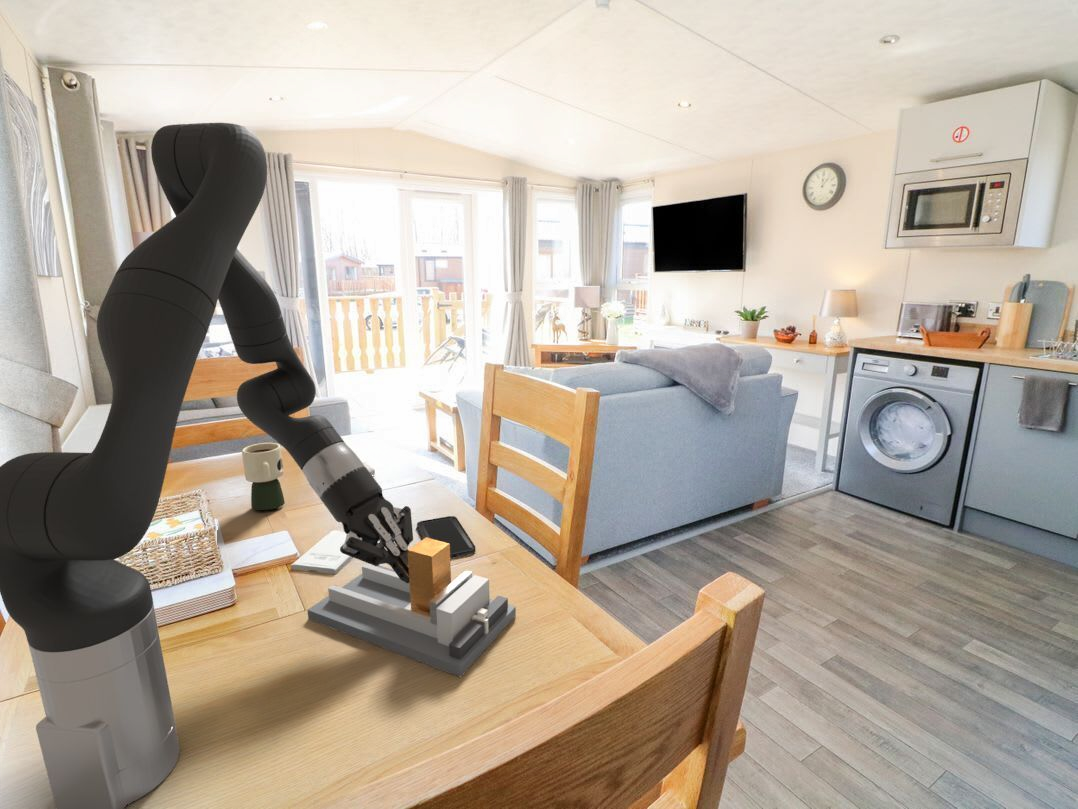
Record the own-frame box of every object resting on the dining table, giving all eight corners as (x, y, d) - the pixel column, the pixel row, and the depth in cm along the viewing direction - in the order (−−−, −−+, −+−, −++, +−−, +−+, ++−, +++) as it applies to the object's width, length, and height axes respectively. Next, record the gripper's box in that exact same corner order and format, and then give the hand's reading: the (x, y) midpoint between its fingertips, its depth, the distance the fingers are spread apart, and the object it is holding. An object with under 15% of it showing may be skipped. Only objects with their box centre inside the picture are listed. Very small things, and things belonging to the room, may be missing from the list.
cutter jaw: (395, 623, 77) (390, 555, 75) (432, 592, 84) (429, 529, 82) (437, 638, 74) (434, 568, 72) (472, 604, 81) (470, 539, 79)
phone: (455, 515, 113) (477, 549, 99) (455, 520, 113) (477, 554, 100) (415, 522, 110) (432, 557, 96) (415, 527, 110) (432, 563, 97)
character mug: (291, 513, 115) (284, 452, 112) (252, 521, 112) (244, 458, 108) (283, 494, 124) (276, 438, 121) (246, 501, 121) (239, 443, 117)
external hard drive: (372, 542, 105) (336, 577, 93) (331, 538, 106) (291, 572, 94) (371, 534, 104) (335, 568, 92) (331, 530, 106) (290, 563, 94)
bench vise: (308, 619, 81) (303, 578, 79) (376, 572, 93) (373, 536, 92) (460, 677, 70) (459, 630, 68) (515, 615, 82) (515, 575, 80)
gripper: (317, 482, 74) (396, 590, 72) (386, 453, 86) (456, 545, 83) (293, 512, 78) (367, 615, 76) (362, 480, 89) (429, 568, 87)
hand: (414, 578), depth 80 cm, fingers closed
